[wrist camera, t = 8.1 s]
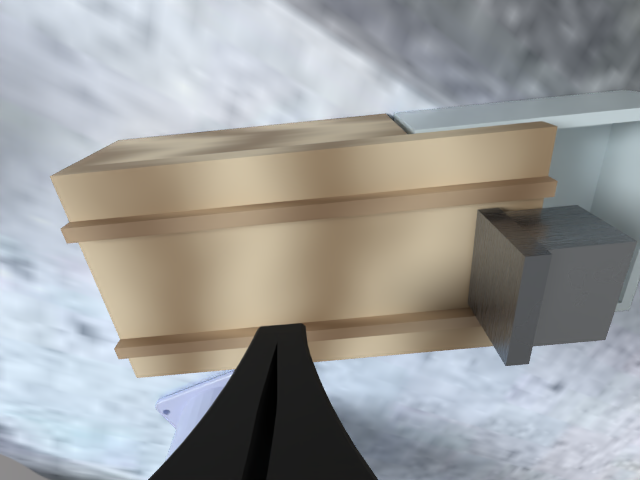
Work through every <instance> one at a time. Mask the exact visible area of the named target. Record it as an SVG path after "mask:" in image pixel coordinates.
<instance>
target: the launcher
mask: <svg viewBox="0 0 640 480" xmlns="http://www.w3.org/2000/svg"><path fill="white" fill-rule="evenodd" d="M557 127H558V126H555V125H552V124H549V123H546V122H543V121H538V122H528V123H517V124H507V125H497V126H487V127H477V128H467V129H457V130H447V131H436V132H426V133H416V134H407V133H406V132H405V131H404V130H403V129H402V128H400V127H399V126H398V125H397V124H396V123H395V122H394V121H393V120H392V119H391V118H390V117H389V116H388V115H387V114H377V115H367V116H357V117H347V118H337V119H327V120H317V121H307V122H297V123H287V124H277V125H267V126H257V127H247V128H237V129H227V130H217V131H207V132H197V133H187V134H177V135H167V136H157V137H147V138H137V139H127V140H118V141H116V142H114V143H112V144H110V145H109V146H107V147H105V148H103V149H101V150H99V151H97V152H95V153H93V154H91V155H90V156H88V157H86V158H84V159H82V160H80V161H78V162H76V163H74V164H72V165H71V166H69V167H67V168H65V169H63V170H61V171H59V172H57V173H55V174H53V175H52V176H50V178H51V180H52V182H53V185H54V187H55V189H56V192H57V194H58V196H59V199H60V201H61V203H62V206H63V208H64V210H65V213H66V215H67V217H68V220H69V223H68V224H66V225H65V226H64V227H62V228H61V231H62V233H63V236H64V238H65V240H66V242H67V243H77V242H78V243H79V245H80V247H81V250H82V252H83V254H84V257H85V259H86V261H87V264H88V266H89V268H90V270H91V273H92V275H93V277H94V280H95V282H96V284H97V287H98V289H99V291H100V294H101V296H102V298H103V301H104V303H105V305H106V308H107V310H108V312H109V314H110V317H111V319H112V321H113V324H114V326H115V328H116V331H117V333H118V335H119V338H120V341H119V342H118V344H117V345H116V347H115V352H116V354H117V356H118V358H119V359H126V358H129V361H130V363H131V365H132V368H133V370H134V372H135V375H136V377H137V378H141V377H152V376H164V375H175V374H186V373H197V372H208V371H220V370H231V369H236V368H237V366H238V364H239V363H240V361H241V359H242V358H243V356H244V354H245V352H246V350H247V349H248V347H249V345H250V343H251V341H252V339H253V337H254V335H255V333H256V331H257V329H258V328H259V327H260V326H271V325H284V324H296V323H302V324H304V325H305V326H306V333H307V342H308V347H309V351H310V354H311V357H312V360H313V362H320V361H331V360H343V359H354V358H365V357H376V356H387V355H398V354H410V353H421V352H432V351H443V350H454V349H466V348H477V347H488V346H493V344H492V343H491V341H490V339H489V338H488V336H487V334H486V333H485V331H484V329H483V328H482V326H481V325H480V323H479V321H478V320H477V318H476V316H475V315H474V313H473V311H472V310H471V308H470V307H469V305H468V294H469V285H470V275H471V266H472V257H473V247H474V238H475V228H476V219H477V210H478V209H488V208H500V209H501V210H502V211H503V212H507V211H518V210H528V209H539V208H542V206H543V201H544V198H548V197H555V192H556V187H557V182H558V181H556V180H555V179H553V178H551V177H549V176H548V175H549V169H550V164H551V159H552V154H553V148H554V143H555V138H556V132H557Z"/></svg>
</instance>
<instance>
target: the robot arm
mask: <svg viewBox="0 0 640 480" xmlns="http://www.w3.org/2000/svg"><path fill="white" fill-rule="evenodd" d="M155 408H156V409H157V411H158V412H159V413H160V414H161V415H162V416H163V417H164V418H165V419H166V420H167V421H168V422H169V423H170V424H171V425H172V426H173V427H174V428H175V429H176V431H175V434H174V437H173V440H172V443H171V446H170V449H169V452H168V455H167V458H166V461H165V462H164V464H163V465H162V466H161V467H160V468H159V469H158V470H157V471H156V472H155V473H154V474H153V475H152V476H151V477H150V478H149V479H148V480H378V479H377V477H376V476H375V474H374V473H373V472H372V470H371V469H370V467H369V466H368V464H367V463H366V461H365V460H364V458H363V457H362V456H361V454H360V453H359V451H358V450H357V448H356V447H355V445H354V443H353V442H352V440H351V438H350V437H349V435H348V434H347V432H346V430H345V429H344V427H343V425H342V423H341V421H340V420H339V418H338V416H337V414H336V412H335V411H334V409H333V407H332V405H331V403H330V401H329V399H328V396H327V394H326V392H325V390H324V388H323V386H322V383H321V381H320V379H319V376H318V374H317V371H316V368H315V366H314V363H313V360H312V357H311V354H310V351H309V347H308V342H307V333H306V326H305V325H304V324H302V323H296V324H284V325H271V326H260V327H259V328H258V329H257V331H256V333H255V335H254V337H253V339H252V341H251V343H250V345H249V347H248V349H247V350H246V352H245V354H244V356H243V358H242V359H241V361H240V363H239V364H238V366H237V368H236V369H235V370H234V371H232V372H229V373H226V374H224V375H221V376H219V377H216V378H213V379H211V380H208V381H206V382H203V383H200V384H198V385H195V386H193V387H190V388H187V389H185V390H182V391H180V392H177V393H174V394H172V395H169V396H166V397H164V398H161V399H159V400H158V401H157V403H156V405H155Z"/></svg>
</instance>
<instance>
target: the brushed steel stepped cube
mask: <svg viewBox="0 0 640 480" xmlns="http://www.w3.org/2000/svg"><path fill="white" fill-rule="evenodd" d="M636 244H637V241H636V240H634V239H633V238H631V237H629V236H628V235H626V234H624V233H623V232H621V231H620V230H618V229H616V228H615V227H613V226H611V225H610V224H608V223H606V222H605V221H603V220H601V219H600V218H598V217H597V216H595V215H593V214H592V213H590V212H588V211H587V210H585V209H583V208H582V207H580V206H578V205H570V206H560V207H549V208H539V209H528V210H518V211H507V212H503V211H502V210H501V209H500V208H488V209H478V210H477V219H476V228H475V238H474V247H473V257H472V266H471V275H470V285H469V294H468V305H469V307H470V308H471V310H472V311H473V313H474V315H475V316H476V318H477V320H478V321H479V323H480V325H481V326H482V328H483V329H484V331H485V333H486V334H487V336H488V338H489V339H490V341H491V343H492V344H493V346H494V348H495V349H496V351H497V352H498V354H499V356H500V357H501V359H502V361H503V362H504V364H505V366H511V365H522V364H529V361H530V356H531V351H532V347H533V346H542V345H553V344H564V343H576V342H587V341H598V340H605V339H606V336H607V333H608V330H609V327H610V324H611V321H612V318H613V315H614V312H615V309H616V305H617V302H618V299H619V296H620V293H621V290H622V287H623V284H624V281H625V278H626V275H627V272H628V269H629V266H630V263H631V260H632V257H633V254H634V250H635V247H636Z"/></svg>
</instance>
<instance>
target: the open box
mask: <svg viewBox="0 0 640 480" xmlns="http://www.w3.org/2000/svg"><path fill="white" fill-rule="evenodd" d="M538 121H543V122H546V123H549V124H552V125H555V126H558V127H557V132H556V138H555V143H554V148H553V154H552V159H551V164H550V169H549V175H548V176H549V177H551V178H553V179H555V180H556V181H558V182H557V187H556V192H555V197H548V198H544V201H543V206H542V208H549V207H560V206H570V205H578V206H580V207H582V208H583V209H585V210H587V211H588V212H590V213H592V214H593V215H595V216H597V217H598V218H600V219H601V220H603V221H605V222H606V223H608V224H610V225H611V226H613V227H615V228H616V229H618V230H620V231H621V232H623V233H624V234H626V235H628V236H629V237H631V238H633V239H634V240H636V241H637V244H636V247H635V250H634V254H633V257H632V260H631V263H630V266H629V269H628V272H627V275H626V278H625V281H624V284H623V287H622V290H621V293H620V296H619V299H618V302H617V305H616V309H615V312H616V311H627V310H629V309H630V306H631V303H632V300H633V297H634V294H635V291H636V288H637V286H638V283H639V280H640V92H636V91H629V90H618V91H608V92H598V93H588V94H578V95H568V96H558V97H548V98H538V99H528V100H518V101H508V102H498V103H488V104H478V105H468V106H458V107H448V108H438V109H428V110H418V111H408V112H398V113H394V122H395V123H396V124H397V125H398V126H399V127H400V128H402V129H403V130H404V131H405V132H406V133H407V134H416V133H426V132H436V131H447V130H457V129H467V128H477V127H487V126H497V125H507V124H517V123H528V122H538Z"/></svg>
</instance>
